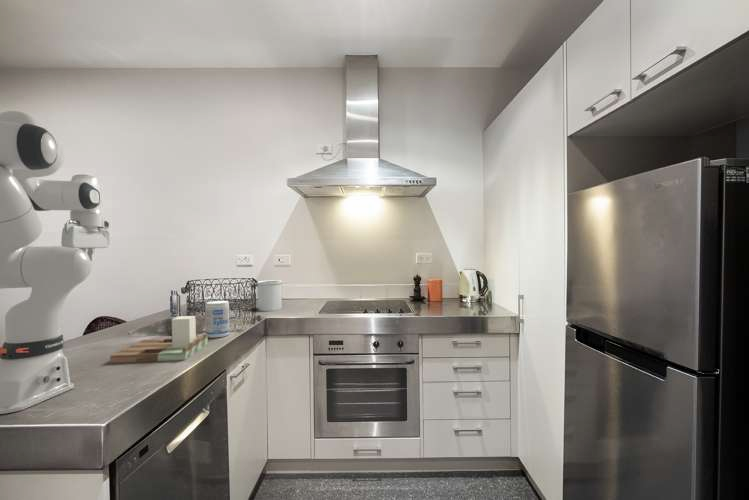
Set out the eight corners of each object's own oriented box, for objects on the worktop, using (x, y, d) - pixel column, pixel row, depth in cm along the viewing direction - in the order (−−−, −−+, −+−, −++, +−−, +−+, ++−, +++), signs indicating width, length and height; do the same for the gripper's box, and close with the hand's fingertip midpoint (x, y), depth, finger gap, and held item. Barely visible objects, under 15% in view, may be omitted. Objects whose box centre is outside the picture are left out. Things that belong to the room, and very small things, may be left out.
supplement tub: (215, 339, 154) (214, 304, 154) (200, 337, 159) (200, 302, 159) (234, 334, 163) (233, 301, 163) (220, 332, 167) (219, 299, 167)
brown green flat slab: (185, 359, 126) (185, 348, 126) (110, 363, 124) (110, 351, 123) (207, 343, 148) (207, 333, 148) (144, 346, 145) (143, 335, 145)
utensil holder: (278, 311, 221) (278, 282, 221) (254, 311, 221) (253, 282, 221) (285, 307, 236) (284, 279, 236) (262, 307, 236) (261, 280, 236)
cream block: (189, 346, 134) (189, 318, 134) (172, 347, 133) (171, 319, 133) (195, 342, 140) (195, 315, 140) (179, 342, 139) (178, 316, 139)
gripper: (75, 219, 121) (76, 262, 121) (112, 223, 141) (113, 260, 141) (54, 219, 120) (55, 262, 120) (95, 224, 140) (95, 260, 141)
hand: (87, 261), depth 131 cm, fingers closed
